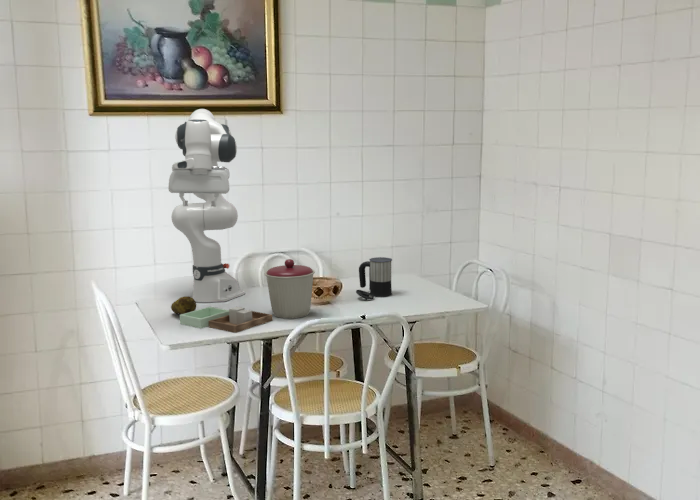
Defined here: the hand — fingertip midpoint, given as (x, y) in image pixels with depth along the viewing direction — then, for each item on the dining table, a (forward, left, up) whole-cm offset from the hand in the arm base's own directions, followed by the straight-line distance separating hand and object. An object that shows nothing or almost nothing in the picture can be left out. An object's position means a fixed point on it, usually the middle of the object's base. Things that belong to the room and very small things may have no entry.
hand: (199, 206), depth 249 cm
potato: (-6, -18, -42) cm, 46 cm away
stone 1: (-8, +7, -41) cm, 43 cm away
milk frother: (-68, +24, -42) cm, 83 cm away
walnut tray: (-7, +10, -42) cm, 44 cm away
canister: (-27, +16, -42) cm, 52 cm away
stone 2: (-6, +12, -41) cm, 44 cm away
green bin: (-3, -3, -42) cm, 42 cm away
